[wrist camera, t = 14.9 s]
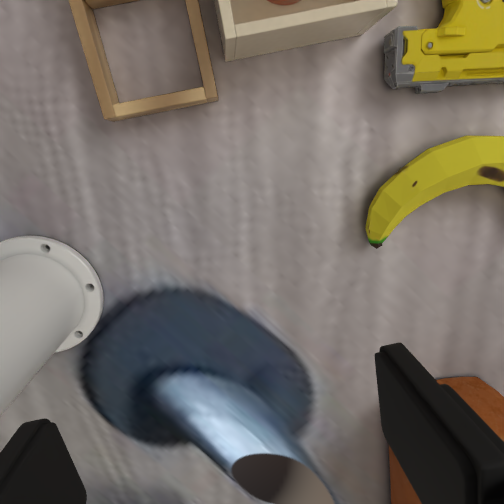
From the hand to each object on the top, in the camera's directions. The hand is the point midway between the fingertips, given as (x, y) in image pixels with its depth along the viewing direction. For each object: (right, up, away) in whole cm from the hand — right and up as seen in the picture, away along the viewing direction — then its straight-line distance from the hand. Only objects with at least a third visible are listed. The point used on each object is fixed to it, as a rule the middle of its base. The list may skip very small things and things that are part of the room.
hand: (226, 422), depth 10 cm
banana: (+21, +9, +27) cm, 35 cm away
